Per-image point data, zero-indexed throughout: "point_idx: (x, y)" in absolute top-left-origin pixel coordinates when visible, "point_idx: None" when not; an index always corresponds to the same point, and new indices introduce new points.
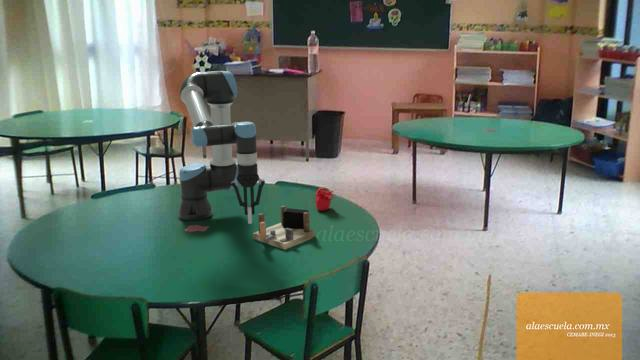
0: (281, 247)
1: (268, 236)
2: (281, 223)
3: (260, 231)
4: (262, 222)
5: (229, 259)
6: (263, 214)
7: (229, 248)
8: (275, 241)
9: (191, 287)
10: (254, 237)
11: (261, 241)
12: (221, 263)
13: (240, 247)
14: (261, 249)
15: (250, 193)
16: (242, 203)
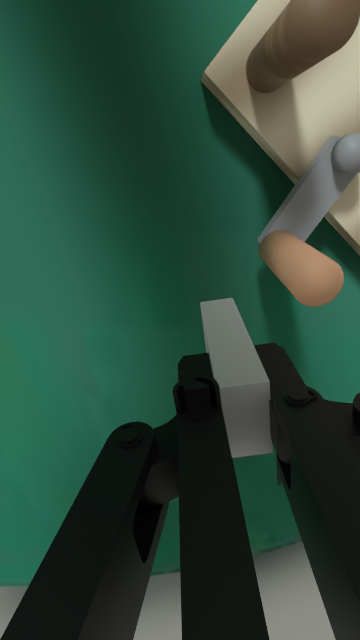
0: (358, 252)
1: (312, 208)
2: None
3: (277, 276)
4: (317, 275)
5: (114, 363)
6: (353, 16)
7: (82, 239)
8: (341, 227)
9: (46, 535)
10: (209, 87)
11: (253, 138)
12: (90, 396)
13: (139, 226)
14: (252, 256)
15: (352, 628)
16: (165, 508)
